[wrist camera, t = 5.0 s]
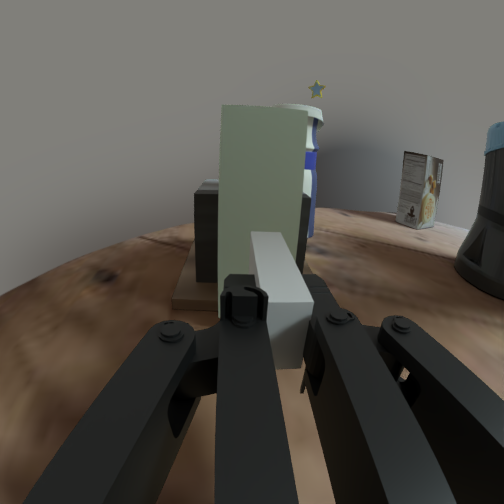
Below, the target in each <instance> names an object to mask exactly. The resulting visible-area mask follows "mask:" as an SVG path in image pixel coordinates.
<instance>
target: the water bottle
mask: <svg viewBox="0 0 504 504" xmlns="http://www.w3.org/2000/svg"><path fill="white" fill-rule="evenodd" d="M324 88H325V86H323V85H320V84H319V82H318V81H317V80H316V82H315V85H314V86H311V87H309V89H311V90H312V91H313V93H312V98H313V97H315V96H319V97H321V98H322V94H321V90H322V89H324ZM272 107H277V108H288V109H297V110H306V111H308V123H307V140H306V155H305V168H304V181H303V192H304V193H305V194H307V195H308V196H309V197H311V208H310V217H309V226H308V235H307V238H309V237H312V236H313V232H314V215H315V201H316V189H317V174H316V171H315V167H316V152H317V151H318V150H319V147H318V145H317V142H316V130H317V132H319V130H320V129H321V127H322V126H323V125H324V123H323V118H322V111H321V110H320V109H318V108H315V107H311V106H306V105H297V104H277V105H273V106H272Z"/></svg>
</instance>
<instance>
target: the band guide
mask: <svg viewBox="0 0 504 504" xmlns="http://www.w3.org/2000/svg"><path fill="white" fill-rule="evenodd" d="M218 196H219V180H205V181H204V183H203V184H202V185H201V186H200V187H199V188H198V190H197V191H196V192H195V193H194V229H195V239H194V241H193V244H192V246H191V249H190V251H189V254H188V257H187V259H186V262H185V264H184V267H183V269H182V272H181V275H180V277H179V280H178V283H177V285H176V288H175V291H174V293H173V296H172V308H173V309H183V310H209V311H218ZM310 208H311V197H309V196H308V195H307V194H305V193H304V192H303V193H302V204H301V215H300V225H299V234H298V244H297V253H296V262H295V263H296V265H297V267H298V269H299V271H300V273H301V274H313V273H312V271H311V269H310V268H309V266H308V264H307V262H306V261H305V252H306V244H307V235H308V226H309V217H310Z"/></svg>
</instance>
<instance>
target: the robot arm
mask: <svg viewBox="0 0 504 504" xmlns="http://www.w3.org/2000/svg"><path fill="white" fill-rule="evenodd" d="M484 156H486V158H485V167H484V175H483V183H482V189H481V195H480V201H479V207H478V213H477V217H476V220H475V222H474V224H473V226H472V228H471V229H470V231H469V233H468V235H467V236H466V238H465V240H464V242H463V243H462V245H461V247H460V248H459V250H458V253H457V257H456V260H455V264H454V265H455V268H456V270H457V271H458V272H459V274H460V275H461V276H462V277H464V278H465V279H466V280H467V281H469V282H470V283H472V284H473V285H475V286H476V287H478V288H480V289H481V290H483V291H485V292H487V293H489V294H491V295H494V296H496V297H498V298H501V299H504V122H499V123H495V124H493V125H492V126H491V127H490V128H489V130H488V133H487V143H486V151H485V152H484ZM303 357H304V361H305V364H306V368H305V372H304V376H303V380H302V384H301V388H300V394H301V393H304V390H305V386H306V388H307V392H308V396H309V400H310V404H311V407H312V411H313V415H314V419H315V423H316V426H317V430H318V434H319V438H320V442H321V446H322V450H323V454H324V458H325V462H326V466H327V470H328V474H329V478H330V482H331V486H332V490H333V494H334V498H335V502H336V504H504V401H503V400H502V399H501V398H500V397H499V396H498V395H497V394H496V393H495V392H494V391H493V390H492V389H490V388H489V387H488V386H487V385H486V384H485V383H484V382H483V381H482V380H481V379H480V378H478V377H477V376H476V375H475V374H474V373H473V372H472V371H471V370H470V369H468V368H467V367H466V366H465V365H464V364H463V363H462V362H460V361H459V360H458V359H457V358H456V357H455V356H454V355H452V354H451V353H450V352H449V351H448V350H447V349H445V348H444V347H443V346H442V345H441V344H440V343H438V342H437V341H436V340H435V339H434V338H433V337H431V336H430V335H429V334H428V333H427V332H425V331H424V330H423V329H422V328H421V327H419V326H418V325H417V324H416V323H414V322H413V321H411V320H410V319H408V318H405V317H403V316H388V317H386V318H384V320H383V322H382V325H381V327H373V326H366V325H362V324H361V323H360V321H359V320H358V318H357V317H356V316H355V315H354V314H353V313H352V312H350V311H348V310H346V309H342V308H340V307H339V305H338V304H337V302H336V300H335V299H334V297H333V295H332V293H330V290H329V288H327V285H326V283H325V282H324V280H323V279H321V278H320V277H319V276H317V275H316V274H301V273H300V271H299V269H298V267H297V265H296V263H295V261H294V259H293V257H292V255H291V253H290V250H289V248H288V246H287V244H286V242H285V240H284V238H283V236H282V234H281V232H255V231H251V234H250V254H249V274H229V275H228V276H227V277H226V278H225V279H224V288H223V291H222V293H221V295H220V321H219V322H218V323H217V324H216V325H214V326H212V327H210V328H208V329H204V330H199V331H194V329H193V327H192V326H190V325H189V324H188V323H185V322H182V321H176V320H169V321H163V322H160V323H158V324H155V325H154V326H153V327H152V328H151V329H150V330H149V331H148V332H147V333H146V335H145V336H144V337H143V338H142V340H141V341H140V342H139V343H138V345H137V346H136V347H135V349H134V350H133V351H132V352H131V354H130V355H129V356H128V357H127V359H126V360H125V361H124V363H123V364H122V365H121V367H120V368H119V369H118V370H117V372H116V373H115V374H114V376H113V377H112V378H111V380H110V381H109V382H108V383H107V385H106V386H105V387H104V389H103V390H102V391H101V393H100V394H99V395H98V397H97V398H96V399H95V401H94V402H93V403H92V405H91V406H90V407H89V409H88V410H87V411H86V413H85V414H84V416H83V417H82V418H81V420H80V421H79V422H78V424H77V425H76V426H75V428H74V429H73V431H72V432H71V433H70V435H69V436H68V438H67V439H66V440H65V442H64V443H63V445H62V446H61V447H60V449H59V450H58V452H57V453H56V454H55V456H54V457H53V459H52V460H51V462H50V463H49V465H48V466H47V467H46V469H45V470H44V472H43V473H42V475H41V476H40V478H39V479H38V481H37V482H36V484H35V485H34V487H33V488H32V490H31V491H30V493H29V494H28V496H27V497H26V499H25V500H24V502H23V504H155V503H156V501H157V499H158V497H159V494H160V492H161V490H162V488H163V485H164V483H165V481H166V478H167V476H168V474H169V472H170V469H171V467H172V465H173V462H174V460H175V458H176V456H177V453H178V451H179V449H180V446H181V444H182V442H183V439H184V437H185V435H186V433H187V430H188V428H189V426H190V423H191V421H192V419H193V416H194V414H195V412H196V409H197V407H198V405H199V402H200V400H201V396H205V395H210V394H214V393H217V402H216V434H215V504H299V502H298V496H297V490H296V485H295V479H294V473H293V468H292V462H291V456H290V451H289V445H288V439H287V433H286V428H285V422H284V416H283V411H282V405H281V400H280V394H279V388H278V383H277V377H276V371H275V369H296V368H301V365H302V360H303ZM404 367H405V368H406V369H407V370H408V371H409V372H410V374H409V375H408V377H407V379H406V380H404V379H403V378H401V377H400V375H401V373H402V371H403V369H404Z"/></svg>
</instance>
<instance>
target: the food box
mask: <svg viewBox="0 0 504 504" xmlns="http://www.w3.org/2000/svg"><path fill="white" fill-rule="evenodd" d="M442 169H443V160H441V159H438V158H435V157H431V156H428V155H423V154H418V153H414V152H407V151H404V160H403V170H402V179H401V187H400V195H399V203H398V209H397V215H396V222H398V223H401V224H404V225H406V226H409V227H412V228H414V229H423V228H428V227H434V222H435V217H436V212H437V205H438V199H439V193H440V185H441V177H442Z"/></svg>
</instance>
